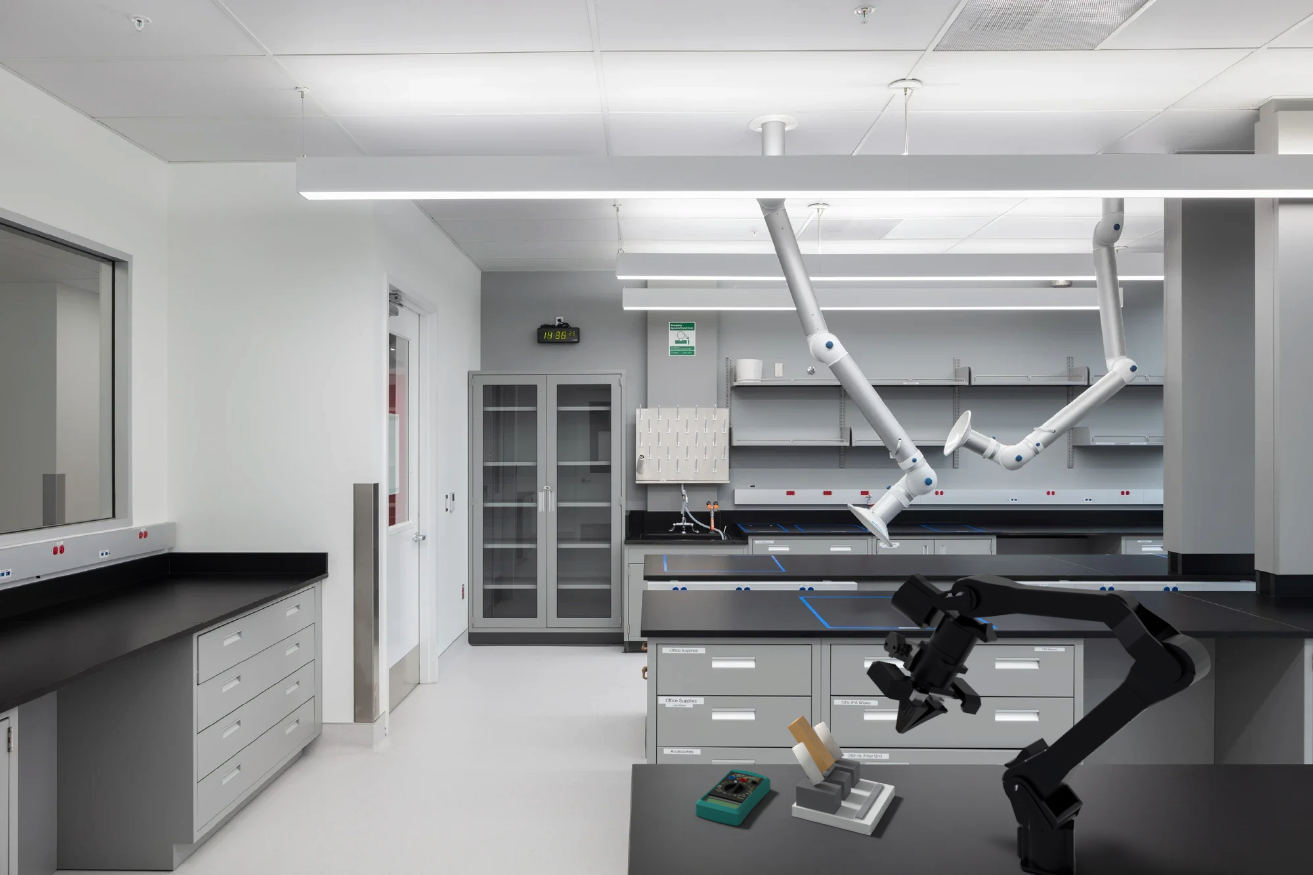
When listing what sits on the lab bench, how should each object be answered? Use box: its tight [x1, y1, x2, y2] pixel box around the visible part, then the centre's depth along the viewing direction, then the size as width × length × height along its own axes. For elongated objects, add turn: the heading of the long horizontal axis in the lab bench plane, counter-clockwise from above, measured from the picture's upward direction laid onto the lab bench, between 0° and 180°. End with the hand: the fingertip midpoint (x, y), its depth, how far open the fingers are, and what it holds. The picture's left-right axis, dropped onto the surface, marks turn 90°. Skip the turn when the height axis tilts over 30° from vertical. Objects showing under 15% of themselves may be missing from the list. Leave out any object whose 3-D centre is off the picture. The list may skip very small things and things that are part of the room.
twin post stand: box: [791, 721, 896, 836], centre depth 123 cm, size 13×15×11 cm
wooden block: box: [787, 714, 835, 777], centre depth 125 cm, size 2×4×9 cm
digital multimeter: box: [695, 769, 771, 827], centre depth 124 cm, size 7×15×3 cm, turn 152°
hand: (898, 731), depth 120 cm, fingers closed
